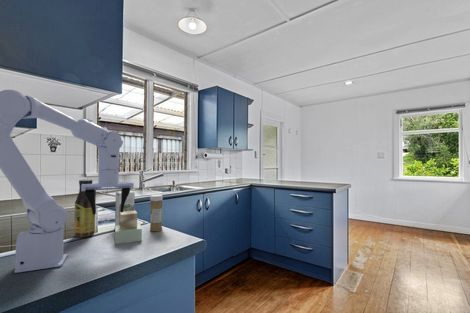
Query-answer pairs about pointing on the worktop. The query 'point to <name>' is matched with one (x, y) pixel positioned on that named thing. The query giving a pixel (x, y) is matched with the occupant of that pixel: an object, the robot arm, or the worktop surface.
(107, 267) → the worktop surface
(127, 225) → the birch cube
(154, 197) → the sprinkles bottle
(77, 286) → the worktop surface
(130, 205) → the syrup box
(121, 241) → the sage block
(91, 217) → the sauce bottle
